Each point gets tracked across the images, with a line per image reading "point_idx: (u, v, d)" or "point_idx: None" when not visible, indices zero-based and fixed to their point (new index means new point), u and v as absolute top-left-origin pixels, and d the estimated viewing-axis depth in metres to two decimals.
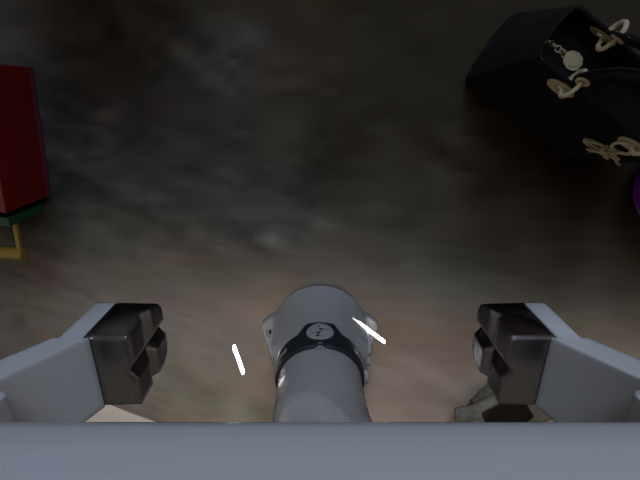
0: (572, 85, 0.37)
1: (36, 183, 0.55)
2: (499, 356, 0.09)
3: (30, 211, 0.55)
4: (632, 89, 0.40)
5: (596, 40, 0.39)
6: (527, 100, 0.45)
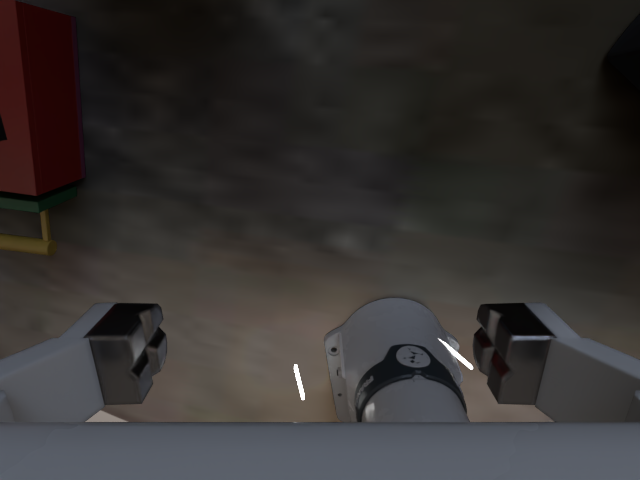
0: None
1: (71, 161, 0.45)
2: (499, 356, 0.09)
3: (62, 195, 0.45)
4: None
5: None
6: None
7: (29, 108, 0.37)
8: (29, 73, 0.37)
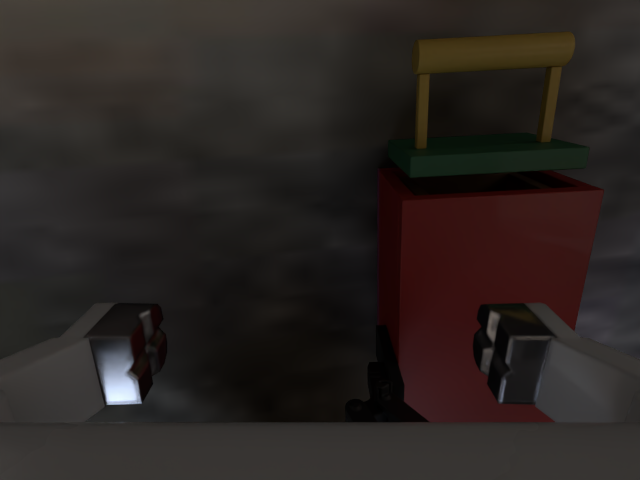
0: None
1: (383, 208, 0.29)
2: (499, 356, 0.09)
3: (395, 158, 0.26)
4: None
5: None
6: None
7: (398, 327, 0.25)
8: None
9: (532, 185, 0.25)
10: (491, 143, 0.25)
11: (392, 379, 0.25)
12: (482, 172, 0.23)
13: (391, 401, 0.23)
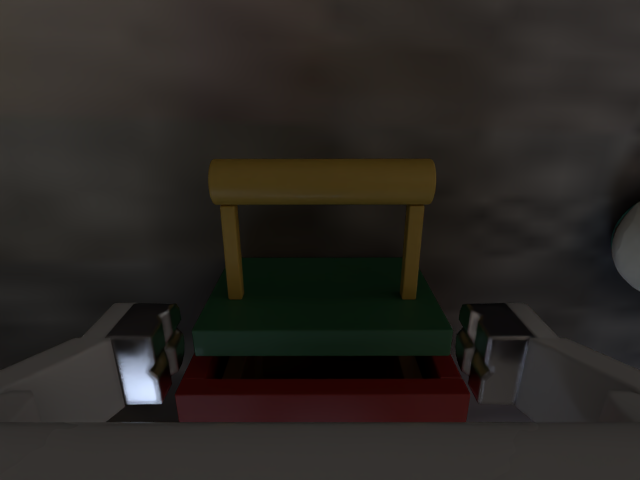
0: None
1: None
2: (479, 356, 0.09)
3: None
4: None
5: None
6: None
7: None
8: None
9: None
10: (339, 292, 0.18)
11: None
12: (299, 354, 0.16)
13: None
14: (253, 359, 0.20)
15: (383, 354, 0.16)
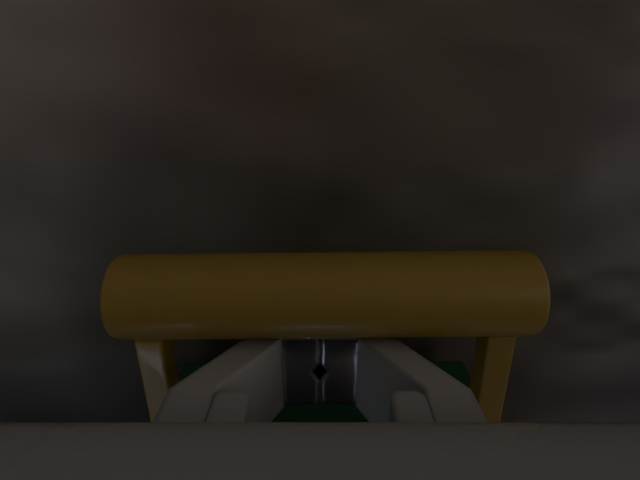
0: None
1: None
2: None
3: None
4: None
5: None
6: None
7: None
8: None
9: None
10: None
11: None
12: None
13: None
14: None
15: None
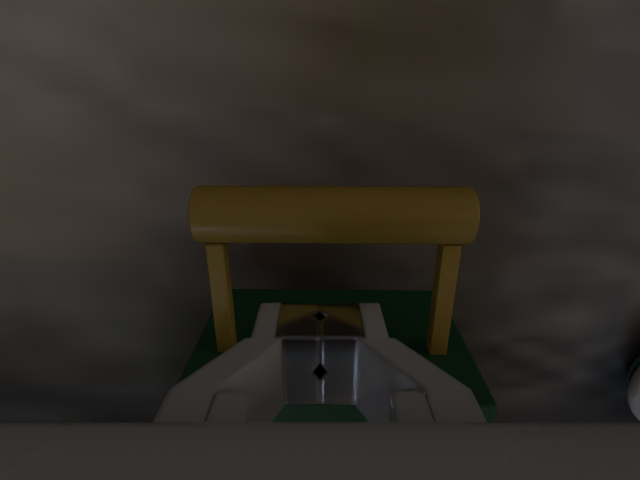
0: None
1: None
2: None
3: None
4: None
5: None
6: None
7: None
8: None
9: None
10: None
11: None
12: None
13: None
14: None
15: None
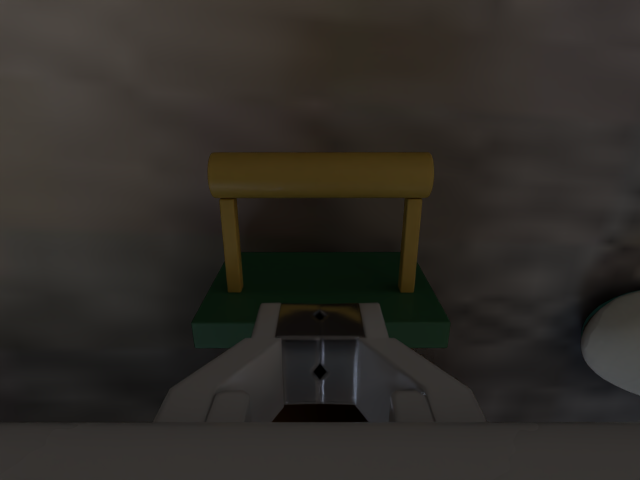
0: None
1: None
2: None
3: None
4: None
5: None
6: None
7: None
8: None
9: None
10: (337, 285, 0.18)
11: None
12: None
13: None
14: None
15: None
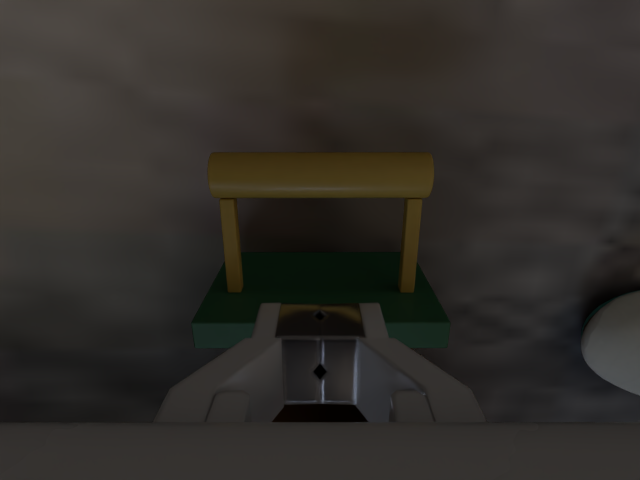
0: None
1: None
2: None
3: None
4: None
5: None
6: None
7: None
8: None
9: None
10: (337, 285, 0.18)
11: None
12: None
13: None
14: None
15: None
